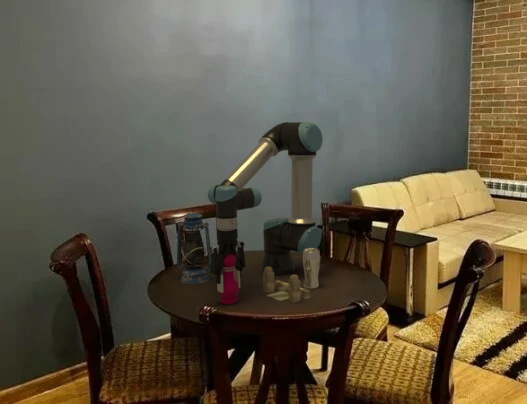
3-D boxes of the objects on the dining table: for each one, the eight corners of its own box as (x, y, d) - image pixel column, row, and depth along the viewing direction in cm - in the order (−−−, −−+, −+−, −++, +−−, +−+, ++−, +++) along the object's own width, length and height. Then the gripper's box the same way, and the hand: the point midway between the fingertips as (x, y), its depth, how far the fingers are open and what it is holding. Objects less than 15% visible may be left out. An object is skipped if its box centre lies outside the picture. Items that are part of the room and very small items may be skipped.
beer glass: (321, 284, 222) (321, 248, 220) (317, 289, 216) (317, 252, 213) (305, 283, 224) (304, 247, 222) (300, 288, 218) (300, 251, 215)
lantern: (172, 283, 227) (169, 211, 223) (182, 274, 239) (179, 206, 234) (208, 284, 224) (205, 212, 219) (216, 276, 236) (214, 207, 231)
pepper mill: (219, 298, 207) (217, 246, 204) (238, 297, 208) (237, 246, 204) (219, 305, 200) (217, 251, 197) (239, 304, 201) (237, 250, 197)
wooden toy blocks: (258, 293, 213) (257, 267, 211) (278, 287, 219) (278, 262, 218) (289, 304, 199) (289, 277, 198) (310, 298, 206) (310, 272, 204)
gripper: (210, 234, 190) (212, 298, 194) (254, 226, 203) (256, 285, 207) (198, 231, 196) (200, 293, 200) (242, 223, 208) (243, 281, 212)
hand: (228, 289), depth 203 cm, fingers closed on pepper mill, 7 cm apart
